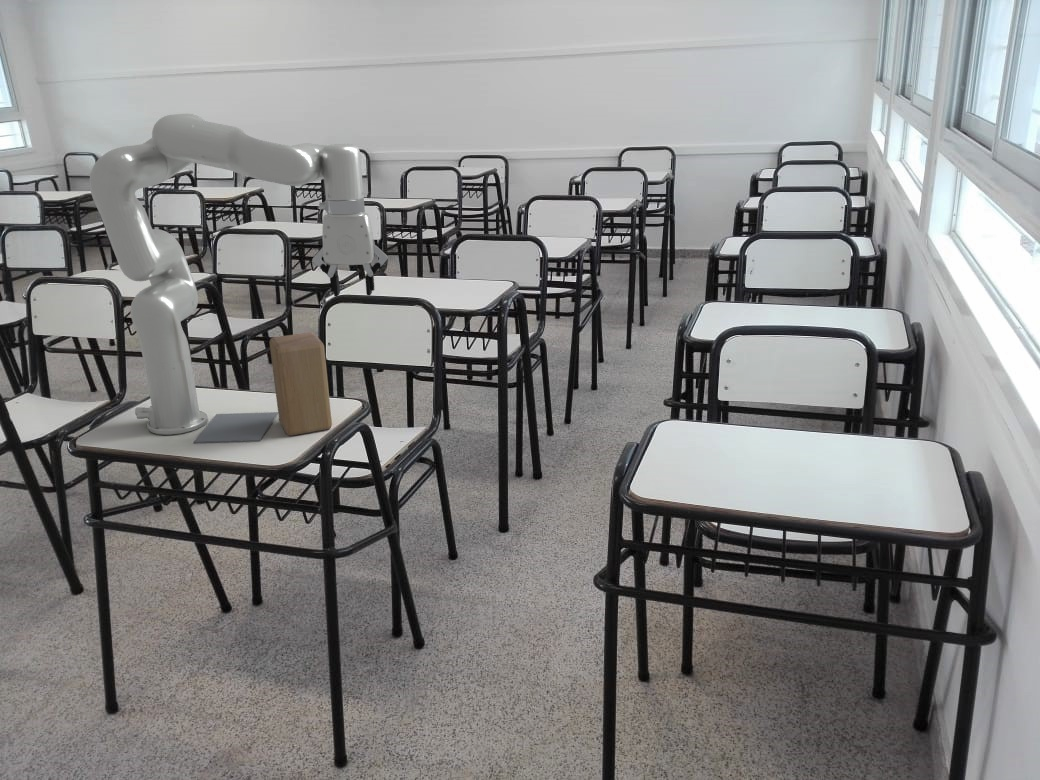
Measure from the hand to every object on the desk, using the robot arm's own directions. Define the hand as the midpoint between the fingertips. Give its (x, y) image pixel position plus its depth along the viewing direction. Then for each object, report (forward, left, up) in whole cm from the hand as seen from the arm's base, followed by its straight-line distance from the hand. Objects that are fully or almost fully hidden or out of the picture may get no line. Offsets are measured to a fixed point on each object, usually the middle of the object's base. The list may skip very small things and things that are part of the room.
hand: (353, 293), depth 177 cm
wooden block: (-13, 0, -30) cm, 33 cm away
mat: (-28, 0, -30) cm, 41 cm away
